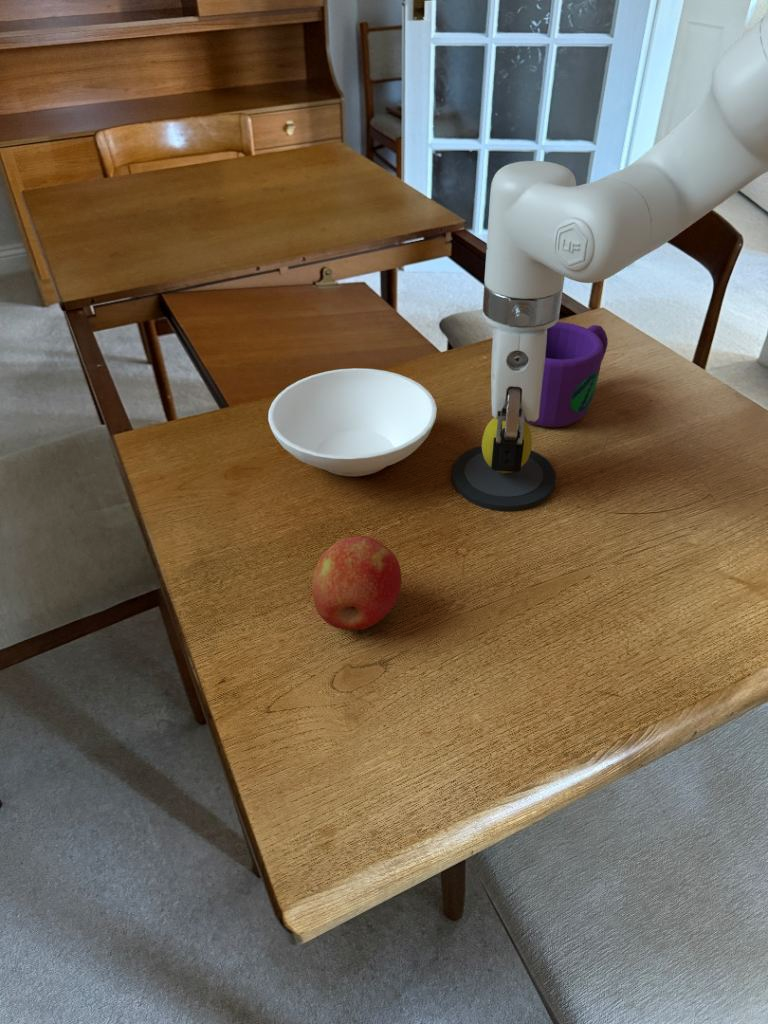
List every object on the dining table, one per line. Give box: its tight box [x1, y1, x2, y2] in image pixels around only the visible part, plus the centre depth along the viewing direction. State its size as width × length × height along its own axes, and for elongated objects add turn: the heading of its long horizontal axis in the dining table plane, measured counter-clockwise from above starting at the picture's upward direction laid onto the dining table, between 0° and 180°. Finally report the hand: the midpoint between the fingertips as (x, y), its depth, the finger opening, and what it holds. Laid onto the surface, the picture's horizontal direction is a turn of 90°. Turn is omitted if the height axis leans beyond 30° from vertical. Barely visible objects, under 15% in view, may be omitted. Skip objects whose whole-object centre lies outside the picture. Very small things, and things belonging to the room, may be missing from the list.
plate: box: [451, 445, 557, 512], centre depth 86 cm, size 12×12×1 cm
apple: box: [311, 535, 402, 631], centre depth 68 cm, size 8×8×8 cm
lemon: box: [481, 417, 533, 474], centre depth 83 cm, size 6×6×8 cm
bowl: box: [267, 367, 438, 477], centre depth 88 cm, size 20×20×7 cm
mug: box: [525, 321, 609, 428], centre depth 96 cm, size 17×11×10 cm, turn 133°
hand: (506, 451), depth 84 cm, fingers closed on lemon, 5 cm apart
